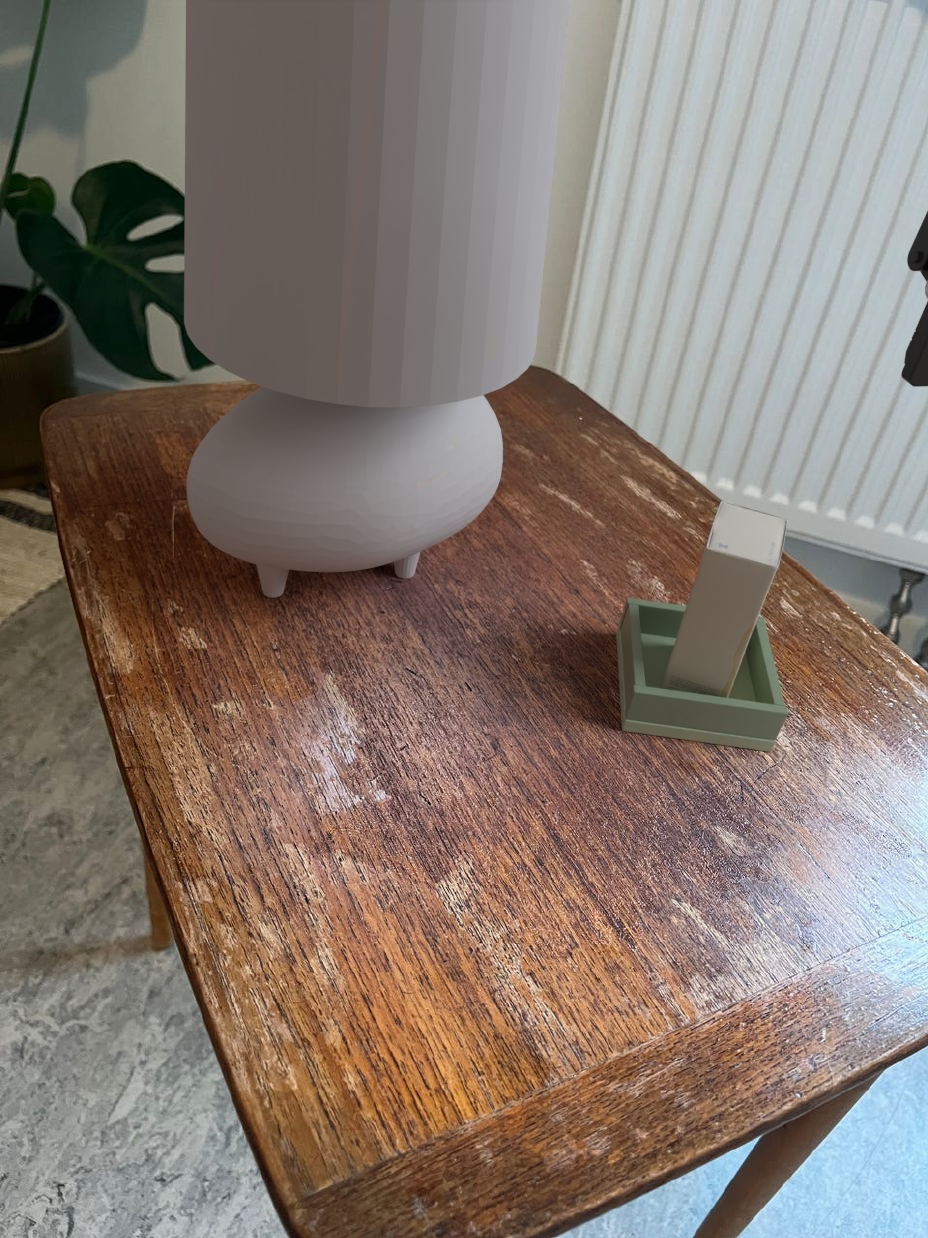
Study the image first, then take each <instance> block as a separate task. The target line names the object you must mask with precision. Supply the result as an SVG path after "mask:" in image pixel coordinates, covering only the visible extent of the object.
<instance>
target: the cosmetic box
mask: <svg viewBox="0 0 928 1238" xmlns="http://www.w3.org/2000/svg"><path fill="white" fill-rule="evenodd" d="M787 527H788V519H787V518H785V517H782V516H778V515H774V514H771V513H768V512H764V511H760V510H757V509H754V508H750V507H748V506H747V507H746V506H743V505H739V504H736V503H732V502H728V501H725V500H722V501H720V502H719V506H718V508H717V511H716V514H715V516H714V518H713V522H712V525H711V528H710V532H709V535H708V537H707V541H706V544H705V546H704V550H703V552H702V553H703V554H702V556H701V560H700V563H699V566H698V568H697V572H696V575H695V578H694V581H693V584H692V587H691V590H690V594H689V597H688V600H687V602H686V603H687V604H686V605H685V606H686V609H685V613H684V616H683V619H682V622H681V625H680V628H679V631H678V635H677V638H676V641H675V644H674V647H673V650H672V653H671V657H670V660H669V663H668V666H667V669H666V672H665V675H664V678H663V682H662V685H661V688H662V689H669V690H676V691H683V692H690V693H697V694H704V695H711V696H718V697H725V698H728V696H729V694H730V691H731V688H732V686H733V683H734V680H735V678H736V675H737V672H738V670H739V667H740V664H741V661H742V659H743V656H744V653H745V651H746V648H747V645H748V643H749V640H750V638H751V635H752V632H753V630H754V627H755V625H756V622H757V619H758V617H760V614H761V611H762V608H763V606H764V604H765V601H766V599H767V595H768V593H769V591H770V588H771V586H772V583H773V581H774V579H775V576H776V573H777V571H778V569H779V566H780V564H781V563H780V562H781V559H782V555H783V551H784V547H785V540H786V534H787Z"/></svg>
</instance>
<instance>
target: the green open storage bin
mask: <svg viewBox="0 0 928 1238" xmlns="http://www.w3.org/2000/svg"><path fill="white" fill-rule="evenodd" d="M686 606H687V605H683V604H677V603H676V604H675V603H669V602H661V601H655V600H648V599H642V598H641V599H640V598H634V597H627V598H626V599H625V602H624V606H623V609H622V612H621V616H620V620H619V624H618V626H617V630H616V632H615V635H616V636H615V637H616V652H617V653H616V654H617V668H618V684H619V685H618V688H619V702H620V705H619V706H620V722H621V731H622V732H628V733H635V734H642V735H647V736H648V735H649V736H656V737H664V738H670V739H675V740H676V739H678V740H684V741H690V742H697V743H705V744H712V745H720V746H726V747H734V748H741V749H746V750H753V751H761V752H768V753H772V751H773V749H774V747H775V745H776V742H777V739H778V736H779V734H780V733H781V730H782V728H783V726H784V724H785V722H786V720H787V719H788V715H789V711H788V707H787V706H786V704H785V700H784V697H783V692H782V688H781V684H780V680H779V676H778V672H777V667H776V664H775V663H776V662H775V660H774V656H773V651H772V648H771V643H770V638H769V635H768V631H767V627H766V623H767V622H766V618H765V616H759V617H758V619H757V622H756V625H755V627H754V630H753V632H752V635H751V638H750V640H749V643H748V645H747V648H746V651H745V653H744V656H743V659H742V661H741V664H740V667H739V670H738V672H737V675H736V678H735V680H734V683H733V686H732V688H731V691H730V694H729V696H728V698H725V697H718V696H711V695H704V694H697V693H690V692H683V691H676V690H669V689H662V688H661V685H662V682H663V678H664V675H665V672H666V669H667V666H668V663H669V660H670V657H671V653H672V650H673V647H674V644H675V641H676V638H677V635H678V631H679V628H680V625H681V622H682V619H683V616H684V613H685V609H686Z"/></svg>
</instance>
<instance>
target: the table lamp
mask: <svg viewBox="0 0 928 1238" xmlns="http://www.w3.org/2000/svg"><path fill="white" fill-rule="evenodd" d="M570 2H571V0H185V75H184V76H185V87H184V88H185V90H184V91H185V93H184V94H185V95H184V96H185V98H184V99H185V101H184V110H185V111H184V121H185V123H184V132H185V133H184V256H183V257H184V258H183V259H184V260H183V262H184V263H183V264H184V265H183V267H184V269H183V270H184V271H183V272H184V274H183V279H184V281H183V282H184V283H183V325H184V328H185V331H186V334H187V336H188V338H189V339H190V340H191V342H192V344H193V345H194V347H195V348H196V349H197V350H198V351H199V352H200V353H202V354H203V355H204V356H205V357H206V359H208V360H209V361H210V362H213V363H214V364H216V365H217V366H219V367H220V368H221V369H223V370H224V371H226V372H228V373H230V374H232V375H234V376H237V377H238V378H241V379H242V380H245V381H247V382H249V383H252V384H255V385H258V386H260V387H258V388H257V389H255V390H253V392H251V393H250V394H249V395H248V396H246V397H244V398H243V399H242V400H240V401H239V402H238V403H237V404H236V405H234V406H233V407H232V408H231V409H230V410H229V411H227V412H226V414H224V415H223V416H222V417H221V418H219V420H218V421H217V422H216V423H215V424H214V425H213V426H212V427H211V428H210V430H209V431H208V432H207V433H206V434H205V436H204V438H203V439H202V440H201V441H200V443H199V444H198V446H197V447H196V449H195V451H194V452H193V455H192V457H191V459H190V463H189V466H188V470H187V475H186V500H187V504H188V508H189V512H190V515H191V517H192V520H193V521H194V524H195V525H196V528H197V530H198V531H199V533H200V534H201V535H202V536H203V537H204V538H205V540H206V541H208V543H210V544H211V545H212V546H213V547H215V548H216V549H218V550H219V551H222V552H223V553H226V554H227V555H229V556H231V557H234V559H238V560H240V561H243V562H247V563H250V564H254V565H256V570H257V574H258V577H259V583H260V587H261V591H262V595H264V596H265V597H267V598H278V597H281V596H282V595H283V594H284V592H285V588H286V585H287V579H288V576H289V573H290V571H299V572H310V573H311V572H314V573H344V572H345V573H346V572H356V571H363V570H368V569H374V568H377V567H381V566H384V565H389V564H391V563H393V567H394V574H395V575H396V577H398V578H400V579H410V578H412V577H414V575H415V574H416V570H417V566H418V563H419V560H420V559H419V558H420V555H421V552H422V551H425V550H427V549H429V548H432V547H433V546H435V545H438V544H440V543H442V542H443V541H446V540H447V539H449V538H451V537H453V536H454V535H456V534H457V533H459V532H460V531H462V530H464V528H466V527H467V526H468V525H470V524H471V523H472V522H473V521H474V520H475V519H476V518H477V517H478V516H479V515H480V514H481V513H482V512H483V511H484V510H485V508H486V507H487V506H488V504H489V503H490V501H491V500H492V499H493V497H495V494H496V492H497V489H498V487H499V484H500V481H501V478H502V471H503V462H504V445H503V436H502V428H501V426H500V424H499V421H498V418H497V414H496V413H495V411H494V409H493V408H492V406H491V405H490V403H489V401H488V399H487V398H486V397H485V396H484V395H487V394H490V393H492V392H495V391H498V390H500V389H503V388H504V387H506V386H507V385H509V384H510V383H512V382H515V381H516V380H518V379H519V378H520V377H521V375H523V374H524V373H525V372H526V371H527V370H528V369H529V368H530V366H531V364H532V362H533V361H534V359H535V356H536V350H537V343H538V342H537V341H538V332H539V323H540V311H541V301H542V292H543V280H544V273H545V272H544V270H545V262H546V261H545V260H546V250H547V239H548V229H549V219H550V208H551V199H552V198H551V197H552V188H553V179H554V178H553V177H554V168H555V157H556V149H557V147H556V145H557V137H558V125H559V118H560V117H559V115H560V107H561V94H562V83H563V75H564V74H563V73H564V64H565V53H566V44H567V33H568V23H569V14H570V13H569V12H570Z"/></svg>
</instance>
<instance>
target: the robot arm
mask: <svg viewBox="0 0 928 1238" xmlns="http://www.w3.org/2000/svg"><path fill="white" fill-rule="evenodd" d="M906 262H907V266H908V269H909V270H910V271H913V272H920V273H921V275H922V277H923V279H924V280H925V285H924V293H925V297H926V298H927V299H928V210H927V211H926V213H925V215H924V218H923V219H922V223H921V225H920V227H919V228H918V231H917V234H916V235H915V237H914V239H913V242H912V244H911V247H910V249H909V251H908V255H907V258H906ZM903 364H904V365H903V368H902V370H901V378H902V379H903V380H904V381H905V382H907V383H908V384H909V385H910V386H912V387H914V388H915V387H916V388H917V387H920V388H921V387H928V300H927V302H926V304H925V307H924V308H923V311H922V313H921V316H920V318H919V320H918V323H917V325H916V327H915V329H914V332H913V334H912V336H911V340H909V343H908V345H907V348H906V349H905V355H904V361H903Z"/></svg>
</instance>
